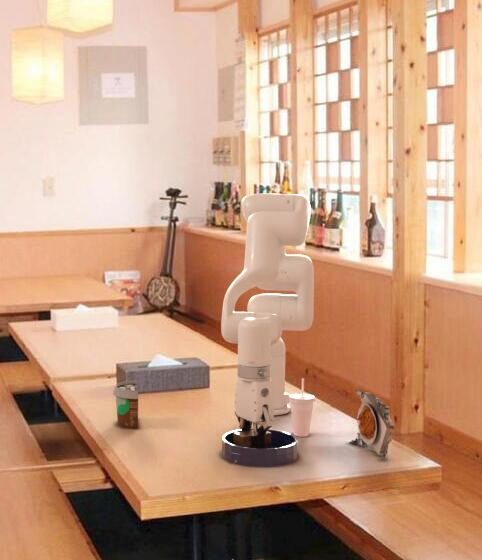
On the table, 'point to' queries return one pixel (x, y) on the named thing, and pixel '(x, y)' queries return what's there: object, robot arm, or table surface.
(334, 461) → the table surface
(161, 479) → the table surface
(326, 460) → the table surface
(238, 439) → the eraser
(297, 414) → the smoothie
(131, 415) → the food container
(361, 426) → the meal
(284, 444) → the bowl
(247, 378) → the robot arm
